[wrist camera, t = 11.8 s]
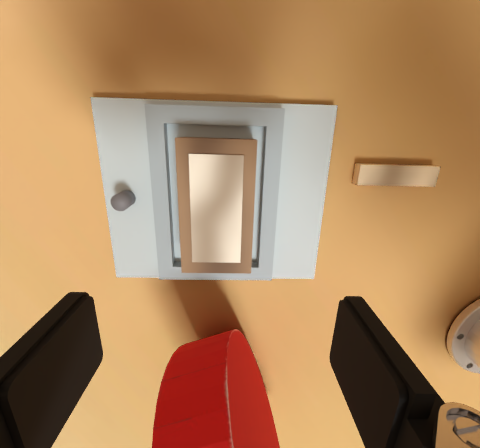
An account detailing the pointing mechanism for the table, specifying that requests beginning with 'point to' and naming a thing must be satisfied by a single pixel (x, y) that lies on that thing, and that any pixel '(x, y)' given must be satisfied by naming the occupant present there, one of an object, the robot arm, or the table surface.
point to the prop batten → (395, 175)
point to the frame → (216, 203)
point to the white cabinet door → (165, 180)
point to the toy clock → (214, 397)
